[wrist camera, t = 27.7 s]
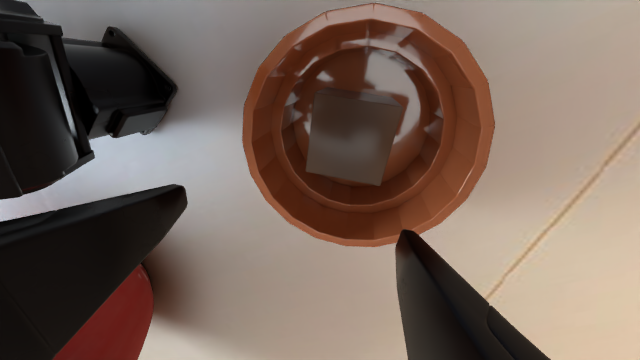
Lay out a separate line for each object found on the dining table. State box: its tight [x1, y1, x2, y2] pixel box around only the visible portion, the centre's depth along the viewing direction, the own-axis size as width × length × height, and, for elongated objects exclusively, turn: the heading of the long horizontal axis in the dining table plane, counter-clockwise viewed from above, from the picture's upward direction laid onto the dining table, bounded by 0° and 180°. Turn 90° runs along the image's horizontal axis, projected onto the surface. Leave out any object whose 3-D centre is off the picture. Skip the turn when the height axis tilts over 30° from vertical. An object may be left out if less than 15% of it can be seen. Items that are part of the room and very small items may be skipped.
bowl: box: [242, 3, 495, 247], centre depth 16 cm, size 13×13×7 cm
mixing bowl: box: [53, 263, 154, 360], centre depth 27 cm, size 28×28×16 cm
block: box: [305, 87, 403, 186], centre depth 16 cm, size 5×5×5 cm
